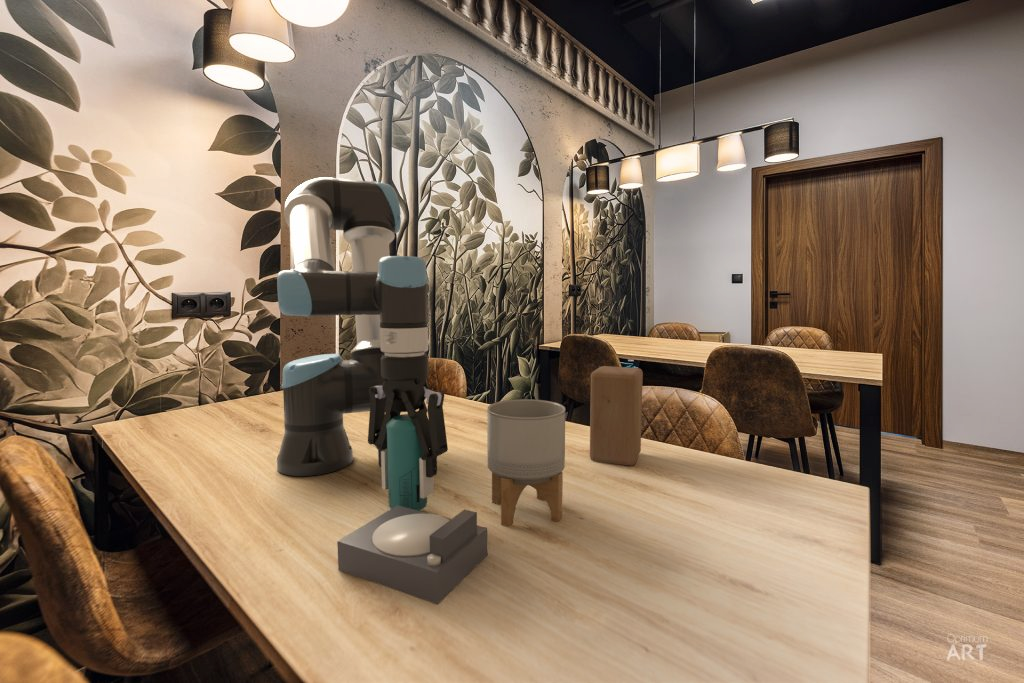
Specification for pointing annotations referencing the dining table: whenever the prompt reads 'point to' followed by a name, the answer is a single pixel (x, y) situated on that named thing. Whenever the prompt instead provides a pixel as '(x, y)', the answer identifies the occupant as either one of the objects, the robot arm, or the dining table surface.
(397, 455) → the beverage bottle
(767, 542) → the dining table surface
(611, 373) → the wooden block
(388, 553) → the domed button base
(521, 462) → the planter
